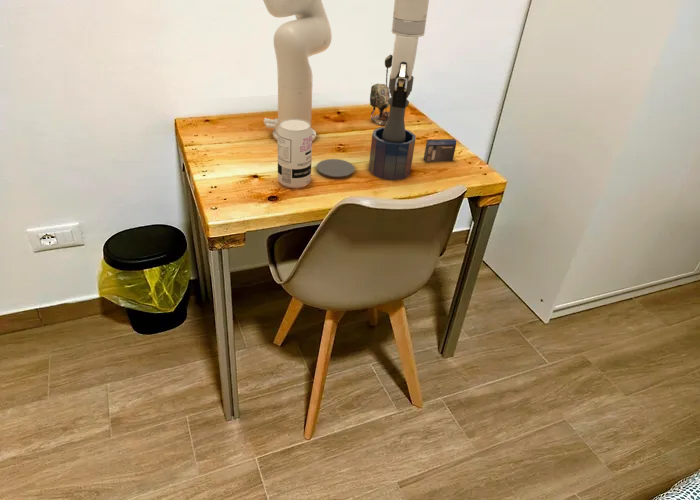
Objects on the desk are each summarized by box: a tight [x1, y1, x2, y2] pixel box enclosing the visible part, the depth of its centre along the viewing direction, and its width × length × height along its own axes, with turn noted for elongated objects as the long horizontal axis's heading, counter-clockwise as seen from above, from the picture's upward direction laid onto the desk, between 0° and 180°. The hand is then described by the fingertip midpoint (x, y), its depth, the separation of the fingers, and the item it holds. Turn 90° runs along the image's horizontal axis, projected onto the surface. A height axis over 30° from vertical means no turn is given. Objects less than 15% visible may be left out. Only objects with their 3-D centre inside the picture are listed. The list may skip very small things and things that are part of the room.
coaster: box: [315, 158, 356, 180], centre depth 138 cm, size 10×10×1 cm
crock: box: [368, 126, 417, 181], centre depth 137 cm, size 11×11×10 cm
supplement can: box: [277, 119, 313, 189], centre depth 127 cm, size 8×8×15 cm
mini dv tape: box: [423, 138, 457, 163], centre depth 146 cm, size 8×2×6 cm, turn 103°
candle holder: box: [382, 73, 415, 143], centre depth 133 cm, size 6×6×25 cm
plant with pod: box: [369, 54, 393, 126], centre depth 162 cm, size 8×11×20 cm
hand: (399, 100), depth 129 cm, fingers open, 9 cm apart
